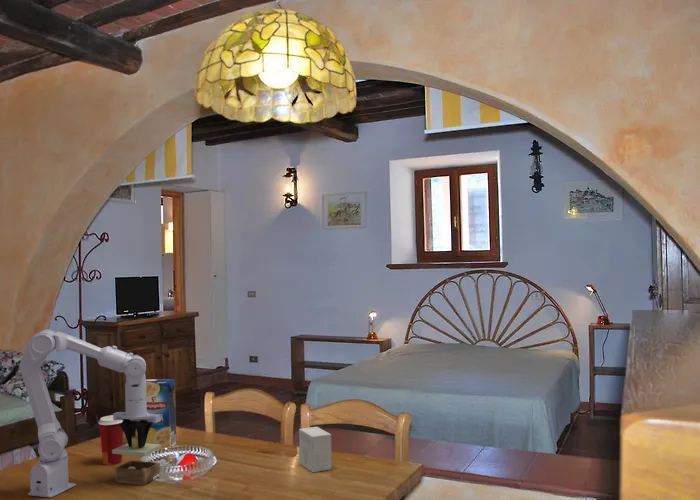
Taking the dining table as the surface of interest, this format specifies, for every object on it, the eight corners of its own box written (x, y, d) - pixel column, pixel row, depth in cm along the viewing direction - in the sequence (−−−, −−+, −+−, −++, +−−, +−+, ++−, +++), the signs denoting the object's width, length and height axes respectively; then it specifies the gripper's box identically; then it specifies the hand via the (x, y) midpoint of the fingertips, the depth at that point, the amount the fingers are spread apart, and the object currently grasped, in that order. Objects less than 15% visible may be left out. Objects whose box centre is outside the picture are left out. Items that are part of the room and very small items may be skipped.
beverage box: (145, 443, 216) (144, 379, 216) (176, 443, 215) (175, 379, 215) (137, 449, 209) (136, 383, 209) (170, 449, 208) (168, 382, 209)
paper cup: (129, 458, 199) (128, 414, 200) (118, 466, 192) (117, 420, 192) (106, 458, 200) (105, 414, 200) (94, 466, 193) (93, 420, 193)
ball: (132, 479, 178) (132, 468, 178) (123, 478, 179) (123, 468, 179) (139, 475, 181) (138, 465, 181) (130, 474, 182) (130, 464, 182)
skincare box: (332, 469, 184) (331, 433, 184) (312, 473, 181) (311, 436, 181) (318, 459, 193) (317, 425, 193) (298, 463, 190) (298, 428, 190)
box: (145, 485, 175) (144, 470, 175) (115, 482, 178) (114, 468, 178) (160, 476, 181) (159, 462, 181) (131, 474, 184) (130, 460, 184)
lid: (144, 456, 174) (144, 441, 174) (112, 453, 178) (112, 439, 178) (161, 447, 182) (160, 434, 182) (129, 445, 185) (129, 432, 185)
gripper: (165, 396, 181) (166, 443, 181) (123, 394, 186) (124, 440, 186) (151, 402, 175) (152, 451, 175) (107, 399, 179) (108, 447, 179)
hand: (136, 446), depth 180 cm, fingers closed on lid, 3 cm apart
